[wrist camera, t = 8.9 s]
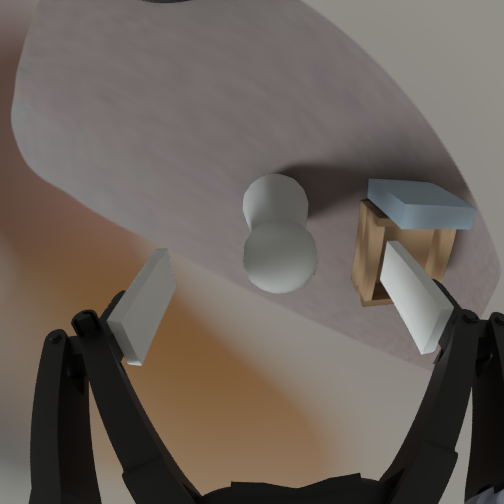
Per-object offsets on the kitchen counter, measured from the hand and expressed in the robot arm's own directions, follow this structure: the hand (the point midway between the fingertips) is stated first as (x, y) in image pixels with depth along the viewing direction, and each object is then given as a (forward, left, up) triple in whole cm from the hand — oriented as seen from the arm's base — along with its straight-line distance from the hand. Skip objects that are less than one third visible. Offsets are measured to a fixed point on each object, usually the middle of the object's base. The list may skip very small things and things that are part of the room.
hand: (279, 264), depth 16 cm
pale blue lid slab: (-1, +14, -12) cm, 18 cm away
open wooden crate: (+5, +14, -12) cm, 19 cm away
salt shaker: (0, 0, -12) cm, 12 cm away
